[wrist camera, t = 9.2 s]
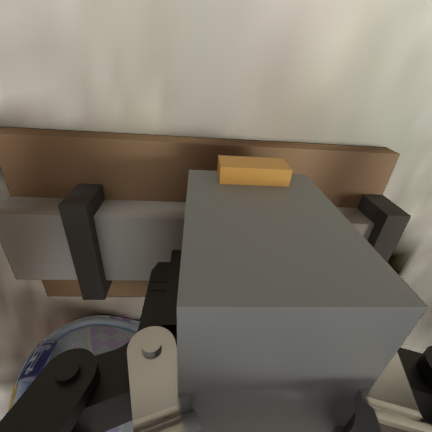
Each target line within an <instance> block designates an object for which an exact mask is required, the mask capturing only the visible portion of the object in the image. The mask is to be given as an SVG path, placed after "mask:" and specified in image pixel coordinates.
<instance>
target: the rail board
mask: <svg viewBox="0 0 432 432" xmlns="http://www.w3.org/2000/svg"><path fill="white" fill-rule="evenodd" d="M218 155H225V156H245V157H266V158H283V159H284V160H285V161H286V163H287V164H288V165H289V166H290V167H291V169H292V170H293V171H292V174H301V175H307V176H308V177H309V178H310V179H311V180H312V181H313V182H314V183H315V185H316V186H317V187H318V188H319V189H320V190H321V191H322V192H323V193H324V194H325V195H326V197H327V198H328V199H329V200H330V201H331V202H332V203H333V204H334V205H335V206H336V207H337V209H338V210H339V211H340V212H341V213H342V214H343V215H344V216H345V217H346V218H347V219H348V221H349V222H350V223H351V224H352V225H353V226H354V227H355V228H356V229H357V230H358V231H359V232H360V234H361V235H362V236H363V237H364V238H365V239H366V240H367V241H368V242H369V243H370V244H371V246H372V247H373V248H374V249H375V250H376V251H377V252H378V253H379V254H380V255H381V256H382V258H383V259H384V260H385V261H386V262H388V260H389V258H390V256H391V254H392V252H393V250H394V249H395V247H396V245H397V243H398V241H399V239H400V237H401V235H402V233H403V231H404V229H405V227H406V225H407V223H408V221H409V219H410V217H411V216H410V215H409V214H407V213H406V212H405V211H403V210H402V209H401V208H399V207H398V206H397V205H395V204H394V203H393V202H391V201H390V200H389V199H387V198H386V197H385V196H383V192H384V190H385V188H386V185H387V183H388V181H389V178H390V176H391V174H392V171H393V169H394V167H395V164H396V162H397V160H398V157H399V155H400V154H399V153H397V152H395V151H393V150H390V149H388V148H386V147H368V146H350V145H331V144H312V143H294V142H275V141H256V140H237V139H219V138H200V137H181V136H162V135H144V134H125V133H106V132H87V131H69V130H50V129H31V128H13V127H3V128H0V167H1V170H2V172H3V175H4V178H5V181H6V183H7V186H8V189H9V192H10V194H11V197H10V198H8V199H7V200H6V201H4V202H3V203H2V204H0V243H1V245H2V247H3V250H4V252H5V254H6V257H7V259H8V261H9V264H10V266H11V268H12V271H13V273H14V275H15V278H16V279H29V280H42V282H43V285H44V288H45V290H46V293H47V296H82V297H83V300H105V299H106V297H146V292H147V288H148V283H149V279H150V274H151V271H152V269H153V268H154V267H155V266H156V264H157V263H158V262H170V261H171V254H172V250H182V241H183V230H184V219H185V207H186V196H187V185H188V174H189V170H209V171H217V166H218Z"/></svg>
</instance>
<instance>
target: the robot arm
mask: <svg viewBox="0 0 432 432" xmlns="http://www.w3.org/2000/svg"><path fill="white" fill-rule="evenodd" d="M181 252H182V250H172V254H171V261H170V262H158V263H157V264H156V266H155V267H154V268H153V269H152V271H151V274H150V279H149V283H148V288H147V292H146V297H145V301H144V306H143V310H142V315H141V319H140V324H139V327H138V330H137V332H136V334H135V335H134V336H133V337H132V338H131V340H130V341H129V342H127V343H126V344H125V345H123V346H121V347H119V348H117V349H115V350H112V351H109V352H105V353H102V354H99V355H96V356H94V354H93V353H92V352H90V351H89V350H87V349H83V348H75V349H70V350H67V351H64V352H62V353H60V354H59V355H57V356H56V357H54V358H53V359H52V360H51V361H50V362H49V363H48V364H47V365H46V366H45V367H44V368H43V370H42V371H41V372H40V373H39V375H38V376H37V377H36V378H35V379H34V381H33V382H32V383H31V384H30V386H29V387H28V388H27V389H26V391H25V392H24V393H23V394H22V395H21V397H20V398H19V399H18V400H17V402H16V403H15V404H14V405H13V407H12V408H11V409H10V410H9V412H8V413H7V414H6V415H5V416H4V418H3V419H2V420H1V421H0V432H106V431H108V430H110V429H113V428H115V427H118V426H120V425H122V424H125V423H127V422H129V421H132V420H133V432H202V428H201V424H200V421H199V418H198V415H197V413H196V411H195V410H194V409H193V407H192V404H191V400H190V396H189V392H186V393H178V378H177V296H178V285H179V274H180V263H181ZM353 399H354V404H355V413H354V414H353V415H352V417H351V418H350V420H349V421H348V423H347V424H346V426H335V427H334V428H333V430H332V432H432V346H430V347H428V348H427V349H426V351H425V352H424V353H423V354H421V353H418V352H414V351H410V350H407V349H403V348H399V349H398V351H397V352H396V354H395V355H394V357H393V358H392V359H391V361H390V362H389V364H388V365H387V367H386V368H385V370H384V371H383V372H382V374H381V375H380V377H379V378H378V380H377V381H376V382H375V384H374V385H373V387H372V388H360V389H359V390H358V392H357V393H356V395H355V396H354V398H353Z"/></svg>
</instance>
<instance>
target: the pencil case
mask: <svg viewBox="0 0 432 432" xmlns="http://www.w3.org/2000/svg"><path fill="white" fill-rule="evenodd" d="M139 324H140V321H137V320H133V319H128V318H123V317H116V316H108V315H96V316H88V317H84V318H80V319H77V320H74V321H72V322H69V323H67V324H65V325H63V326H61V327H59V328H58V329H56V330H55V331H53V332H52V333H51V334H50V335H49V336H47V337H46V338H45V339H44V340H43V341H42V342H40V343H39V344H38V345H37V347H36V348H35V349H34V350H33V351H32V353H31V354H30V355H29V357H28V358H27V360H26V362H25V363H24V365H23V367H22V369H21V371H20V374H19V376H18V378H17V381H16V384H15V387H14V390H13V393H12V397H11V402H10V406H9V410H10V409H11V408H12V407H13V405H14V404H15V403H16V402H17V400H18V399H19V398H20V397H21V395H22V394H23V393H24V392H25V391H26V389H27V388H28V387H29V386H30V384H31V383H32V382H33V381H34V379H35V378H36V377H37V376H38V375H39V373H40V372H41V371H42V370H43V368H44V367H45V366H46V365H47V364H48V363H49V362H50V361H51V360H52V359H53V358H54V357H56V356H57V355H59V354H60V353H62V352H64V351H67V350H70V349H75V348H83V349H87V350H89V351H90V352H92V353H93V354H94V356H96V355H99V354H102V353H105V352H109V351H112V350H115V349H117V348H119V347H121V346H123V345H125V344H126V343H127V342H129V341H130V340H131V338H132V337H133V336H134V335H135V334H136V332H137V330H138V327H139ZM106 432H133V420H132V421H129V422H127V423H125V424H122V425H120V426H118V427H115V428H113V429H110V430H108V431H106Z"/></svg>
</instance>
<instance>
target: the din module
mask: <svg viewBox="0 0 432 432" xmlns="http://www.w3.org/2000/svg"><path fill="white" fill-rule="evenodd" d="M292 171H293V170H292V169H291V167H290V166H289V165H288V164H287V163H286V161H285V160H284V159H283V158H266V157H245V156H225V155H218V166H217V171H209V170H189V174H188V185H187V196H186V207H185V219H184V230H183V241H182V252H181V263H180V274H179V285H178V296H177V378H178V393H186V392H189V396H190V400H191V404H192V407H193V409H194V410H195V411H196V413H197V415H198V418H199V421H200V424H201V428H202V432H332V430H333V428H334V427H335V426H346V424H347V423H348V421H349V420H350V418H351V417H352V415H353V414H354V413H355V404H354V399H353V398H354V396H355V395H356V393H357V392H358V390H359V389H360V388H372V387H373V385H374V384H375V382H376V381H377V380H378V378H379V377H380V375H381V374H382V372H383V371H384V370H385V368H386V367H387V365H388V364H389V362H390V361H391V359H392V358H393V357H394V355H395V354H396V352H397V351H398V349H399V348H400V347H401V345H402V344H403V342H404V341H405V339H406V338H407V336H408V335H409V334H410V332H411V331H412V329H413V328H414V326H415V325H416V324H417V322H418V321H419V319H420V318H421V316H422V315H423V313H424V312H425V311H426V309H427V308H428V307H427V305H426V304H425V303H424V302H423V301H422V300H421V299H420V298H419V297H418V296H417V295H416V294H415V292H414V291H413V290H412V289H411V288H410V287H409V286H408V285H407V284H406V283H405V282H404V280H403V279H402V278H401V277H400V276H399V275H398V274H397V273H396V272H395V271H394V270H393V268H392V267H391V266H390V265H389V264H388V263H387V262H386V261H385V260H384V259H383V258H382V256H381V255H380V254H379V253H378V252H377V251H376V250H375V249H374V248H373V247H372V246H371V244H370V243H369V242H368V241H367V240H366V239H365V238H364V237H363V236H362V235H361V234H360V232H359V231H358V230H357V229H356V228H355V227H354V226H353V225H352V224H351V223H350V222H349V221H348V219H347V218H346V217H345V216H344V215H343V214H342V213H341V212H340V211H339V210H338V209H337V207H336V206H335V205H334V204H333V203H332V202H331V201H330V200H329V199H328V198H327V197H326V195H325V194H324V193H323V192H322V191H321V190H320V189H319V188H318V187H317V186H316V185H315V183H314V182H313V181H312V180H311V179H310V178H309V177H308V176H307V175H301V174H292Z"/></svg>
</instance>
